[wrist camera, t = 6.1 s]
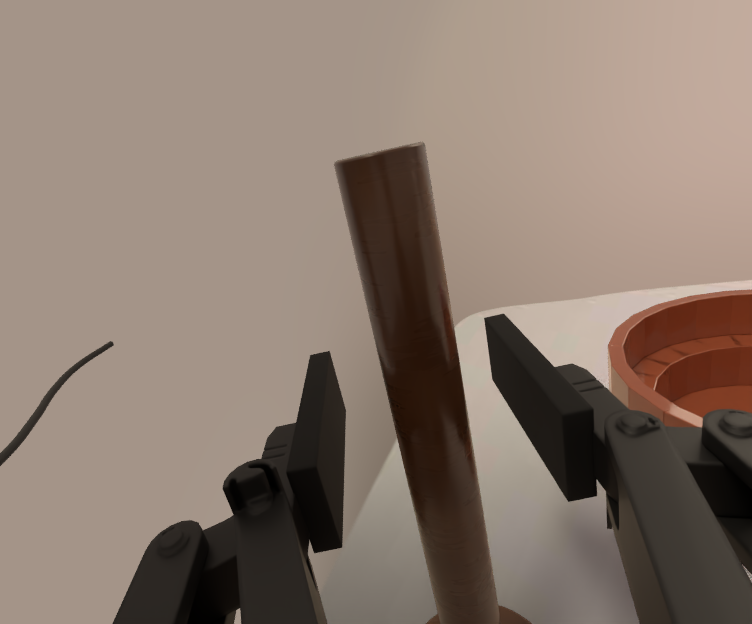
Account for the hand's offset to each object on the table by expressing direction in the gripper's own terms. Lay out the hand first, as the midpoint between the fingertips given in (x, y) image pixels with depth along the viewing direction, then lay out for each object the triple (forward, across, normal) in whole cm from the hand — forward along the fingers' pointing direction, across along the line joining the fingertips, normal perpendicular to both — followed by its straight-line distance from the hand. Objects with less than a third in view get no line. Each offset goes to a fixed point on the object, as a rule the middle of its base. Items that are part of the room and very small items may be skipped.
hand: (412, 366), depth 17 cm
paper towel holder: (-5, 0, -12) cm, 13 cm away
